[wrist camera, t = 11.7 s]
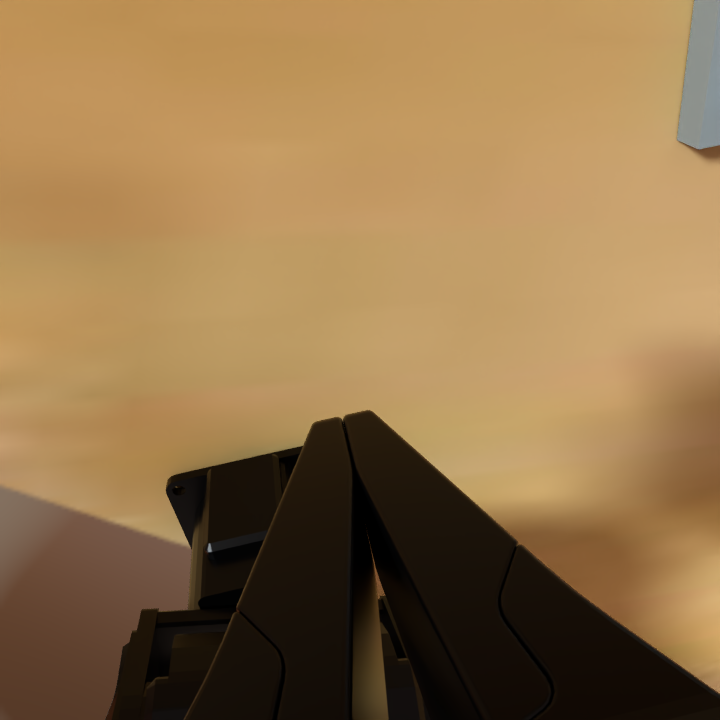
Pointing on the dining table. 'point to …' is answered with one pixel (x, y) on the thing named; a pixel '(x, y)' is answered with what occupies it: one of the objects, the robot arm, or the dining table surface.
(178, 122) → the dining table surface
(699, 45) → the board
